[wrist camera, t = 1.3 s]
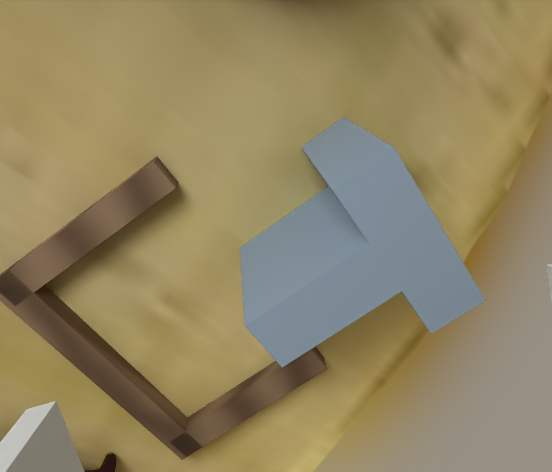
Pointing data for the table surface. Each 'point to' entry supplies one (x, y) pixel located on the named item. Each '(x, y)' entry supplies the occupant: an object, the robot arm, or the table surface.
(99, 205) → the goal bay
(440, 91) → the table surface
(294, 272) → the grey notched block
